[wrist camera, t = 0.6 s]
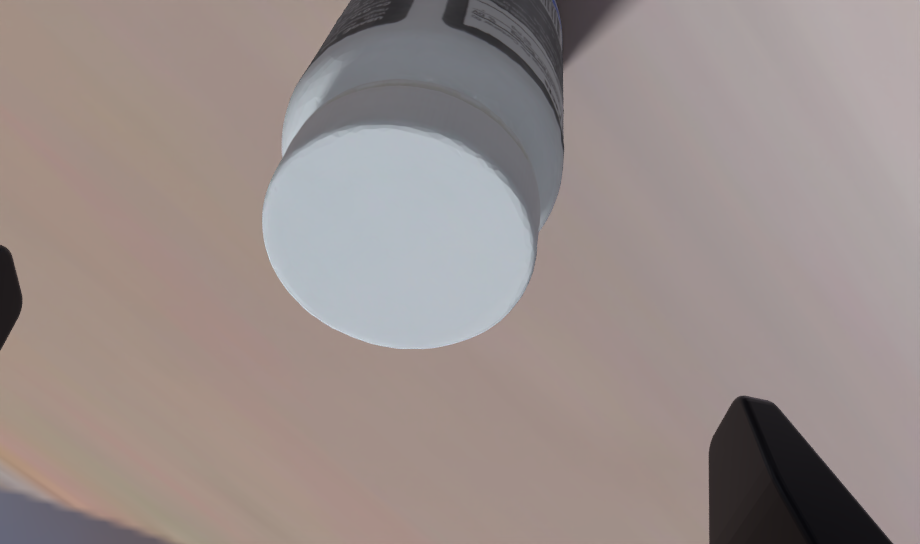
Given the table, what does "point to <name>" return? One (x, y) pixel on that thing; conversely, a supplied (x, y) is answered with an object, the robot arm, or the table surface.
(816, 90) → the table surface
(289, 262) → the pill bottle
